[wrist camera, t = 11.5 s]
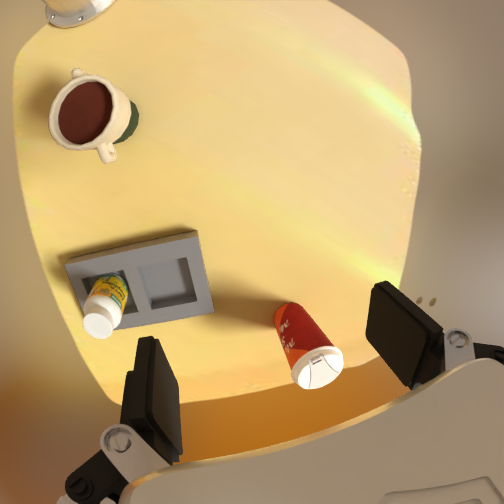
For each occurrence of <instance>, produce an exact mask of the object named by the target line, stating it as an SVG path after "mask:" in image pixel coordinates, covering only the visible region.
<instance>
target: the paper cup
mask: <svg viewBox="0 0 504 504" xmlns="http://www.w3.org/2000/svg"><path fill="white" fill-rule="evenodd" d="M274 324H275V327H276V330H277V333H278V335H279V338H280V341H281V344H282V346H283V349H284V352H285V354H286V357H287V360H288V363H289V365H290V368H291V371H292V372H291V377H292V379H293V381H294V382H295V383H297V384H299V386H301V387H302V388H305V389H316V388H319V387H322V386H324V385H326V384H328V383H330V382H331V381H333V380H334V379H335V378H336V377H337V376H338V375H339V374H340V372H341V370H342V368H343V356H342V352H341V351H340V350H339V349H338V348H336V347H334V345H333V344H332V343H331V342H330V340H329V339H328V338H327V337H326V335H325V334H324V333H323V332H322V330H321V329H320V328H319V327H318V325H317V324H316V323H315V322H314V320H313V319H312V318H311V317H310V315H309V314H308V313H307V312H306V311H305V309H304V308H303V307H302V306H301V305H299V304H297V303H288V304H285V305H283V306H282V307H280V308H279V309H278V310H277V311H276V313H275V315H274Z"/></svg>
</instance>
